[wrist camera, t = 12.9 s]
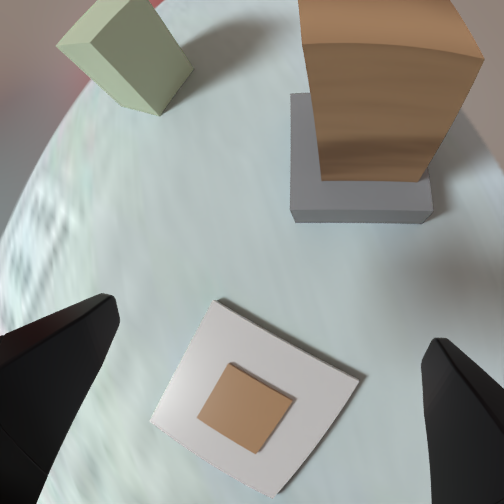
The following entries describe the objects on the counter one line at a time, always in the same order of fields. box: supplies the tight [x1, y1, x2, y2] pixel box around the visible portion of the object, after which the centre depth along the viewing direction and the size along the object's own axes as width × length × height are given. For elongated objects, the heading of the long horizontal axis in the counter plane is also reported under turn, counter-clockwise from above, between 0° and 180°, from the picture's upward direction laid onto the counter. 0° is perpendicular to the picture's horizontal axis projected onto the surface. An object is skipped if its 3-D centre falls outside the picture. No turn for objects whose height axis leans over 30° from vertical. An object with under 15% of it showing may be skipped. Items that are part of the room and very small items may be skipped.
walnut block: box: [298, 0, 484, 182], centre depth 11 cm, size 6×6×10 cm
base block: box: [290, 93, 433, 224], centre depth 18 cm, size 8×8×3 cm
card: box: [150, 300, 359, 499], centre depth 17 cm, size 10×10×1 cm
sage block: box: [56, 0, 194, 116], centre depth 20 cm, size 6×6×10 cm
